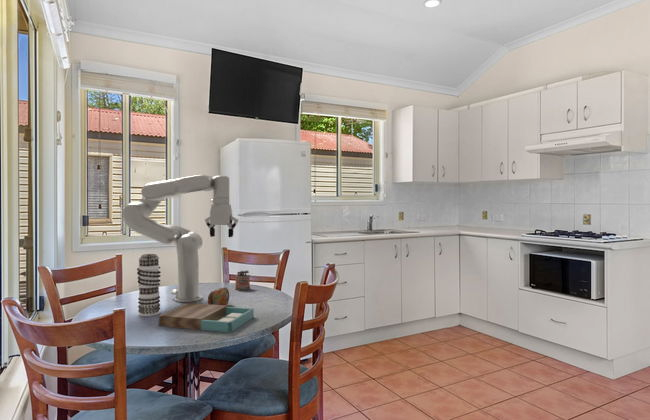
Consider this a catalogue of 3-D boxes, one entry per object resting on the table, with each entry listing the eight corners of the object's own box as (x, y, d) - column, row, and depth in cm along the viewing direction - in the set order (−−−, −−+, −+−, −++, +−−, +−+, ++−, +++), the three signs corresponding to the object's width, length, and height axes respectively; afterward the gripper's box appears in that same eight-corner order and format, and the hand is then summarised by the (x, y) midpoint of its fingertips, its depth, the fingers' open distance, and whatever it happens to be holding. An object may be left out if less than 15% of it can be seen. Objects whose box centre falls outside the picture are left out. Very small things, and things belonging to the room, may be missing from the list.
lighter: (236, 290, 218) (236, 271, 218) (234, 289, 221) (234, 270, 221) (250, 289, 222) (250, 270, 222) (248, 287, 225) (248, 269, 225)
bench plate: (158, 325, 156) (158, 315, 156) (188, 312, 175) (188, 302, 175) (201, 329, 152) (201, 319, 152) (226, 315, 171) (226, 305, 171)
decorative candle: (137, 311, 176) (137, 253, 175) (160, 309, 179) (160, 252, 179) (136, 317, 167) (136, 256, 167) (161, 315, 171) (160, 255, 170)
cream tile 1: (229, 322, 153) (229, 327, 153) (235, 318, 158) (235, 323, 158) (217, 321, 154) (217, 326, 154) (223, 317, 159) (223, 322, 159)
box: (201, 329, 152) (201, 320, 152) (226, 315, 171) (226, 306, 171) (230, 332, 149) (230, 322, 149) (253, 317, 168) (253, 308, 168)
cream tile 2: (237, 317, 160) (237, 322, 160) (243, 313, 165) (243, 318, 165) (226, 316, 161) (226, 321, 161) (232, 312, 166) (232, 317, 166)
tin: (213, 312, 175) (213, 292, 175) (206, 312, 176) (206, 292, 176) (229, 304, 190) (229, 285, 190) (223, 303, 191) (223, 285, 191)
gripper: (201, 201, 197) (201, 237, 197) (234, 201, 192) (234, 237, 193) (209, 201, 204) (209, 235, 204) (241, 201, 200) (241, 236, 200)
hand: (221, 236), depth 199 cm, fingers open, 9 cm apart
